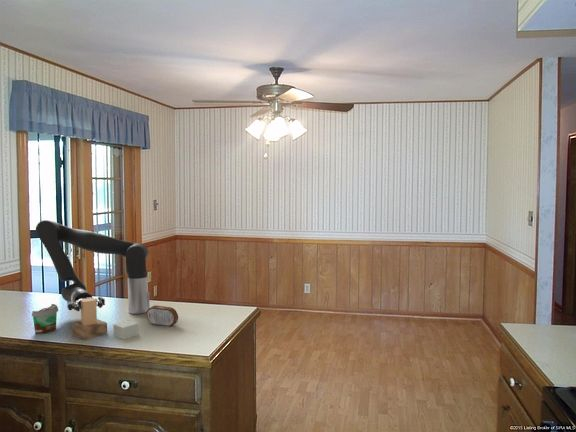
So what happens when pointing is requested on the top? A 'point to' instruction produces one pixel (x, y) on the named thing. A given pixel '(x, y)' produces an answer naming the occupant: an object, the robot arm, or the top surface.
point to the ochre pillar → (88, 311)
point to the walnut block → (89, 330)
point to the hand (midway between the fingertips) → (89, 307)
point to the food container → (45, 319)
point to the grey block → (125, 329)
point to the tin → (162, 315)
